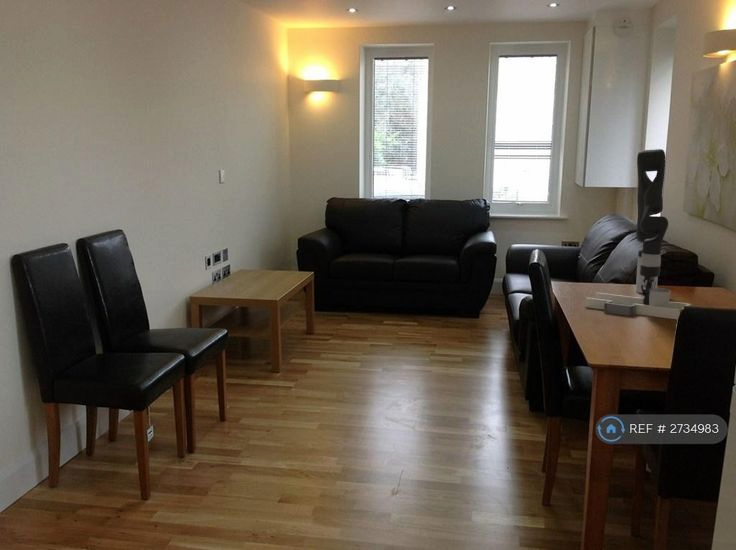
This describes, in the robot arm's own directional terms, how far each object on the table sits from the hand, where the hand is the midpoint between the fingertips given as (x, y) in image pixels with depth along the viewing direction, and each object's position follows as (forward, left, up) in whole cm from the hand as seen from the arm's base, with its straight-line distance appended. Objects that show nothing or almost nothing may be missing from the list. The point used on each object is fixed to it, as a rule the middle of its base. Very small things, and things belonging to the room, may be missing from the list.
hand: (646, 305), depth 270 cm
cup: (+1, +5, -3) cm, 6 cm away
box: (0, -4, -3) cm, 5 cm away
